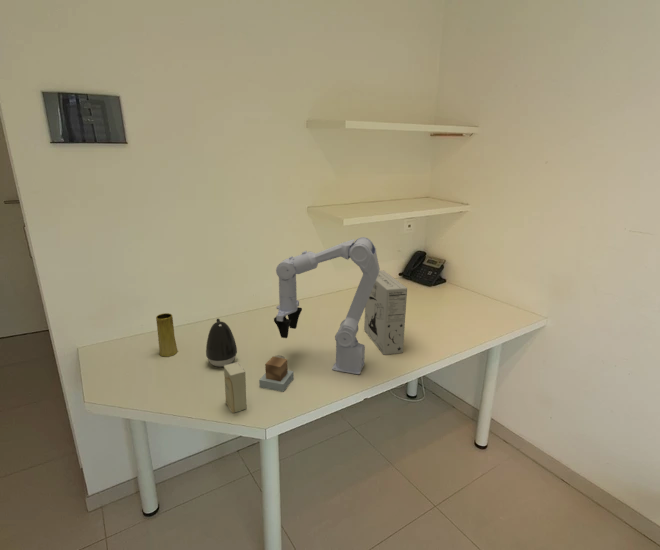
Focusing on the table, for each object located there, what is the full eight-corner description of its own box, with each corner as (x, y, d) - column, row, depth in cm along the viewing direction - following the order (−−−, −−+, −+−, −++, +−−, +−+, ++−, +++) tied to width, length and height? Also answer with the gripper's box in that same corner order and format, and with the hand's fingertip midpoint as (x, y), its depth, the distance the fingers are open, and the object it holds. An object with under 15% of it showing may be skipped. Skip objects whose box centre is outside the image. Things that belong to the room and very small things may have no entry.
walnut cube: (287, 373, 128) (287, 359, 127) (280, 381, 124) (280, 367, 122) (273, 370, 130) (272, 356, 128) (265, 378, 125) (265, 363, 124)
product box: (363, 330, 165) (366, 271, 158) (381, 328, 167) (384, 270, 160) (383, 355, 145) (387, 289, 138) (403, 353, 147) (407, 287, 140)
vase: (175, 356, 143) (171, 319, 139) (157, 357, 142) (152, 320, 138) (179, 348, 149) (175, 312, 145) (161, 349, 148) (156, 313, 144)
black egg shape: (235, 353, 146) (232, 314, 141) (239, 367, 136) (237, 326, 132) (205, 358, 142) (202, 317, 138) (208, 372, 133) (204, 330, 128)
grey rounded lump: (286, 367, 137) (286, 356, 136) (282, 373, 133) (282, 362, 132) (274, 365, 138) (274, 354, 137) (269, 371, 134) (269, 360, 133)
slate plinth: (293, 379, 130) (293, 371, 130) (283, 393, 123) (283, 384, 122) (270, 375, 133) (270, 367, 132) (259, 388, 125) (259, 379, 125)
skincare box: (225, 402, 118) (222, 365, 114) (240, 397, 120) (237, 361, 116) (232, 414, 113) (229, 375, 109) (247, 409, 115) (245, 371, 111)
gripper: (285, 287, 142) (286, 322, 146) (267, 301, 129) (268, 340, 133) (304, 289, 140) (304, 325, 144) (287, 303, 127) (288, 343, 131)
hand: (288, 332), depth 138 cm, fingers open, 7 cm apart
